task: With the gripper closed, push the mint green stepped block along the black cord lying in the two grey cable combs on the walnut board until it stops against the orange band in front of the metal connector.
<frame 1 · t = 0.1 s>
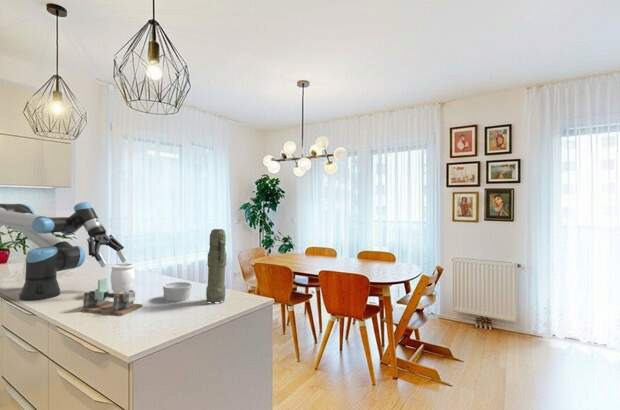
hand: (114, 263, 164), 15 cm above the table, tool tilted 35°, fingers open, 13 cm apart
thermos: (215, 301, 156), on the table
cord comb: (112, 309, 140), on the table
ramekin: (177, 299, 159), on the table
jar: (122, 295, 163), on the table
mint green stepped block: (102, 288, 141), point 8 cm above the table, slide at 0.0 cm
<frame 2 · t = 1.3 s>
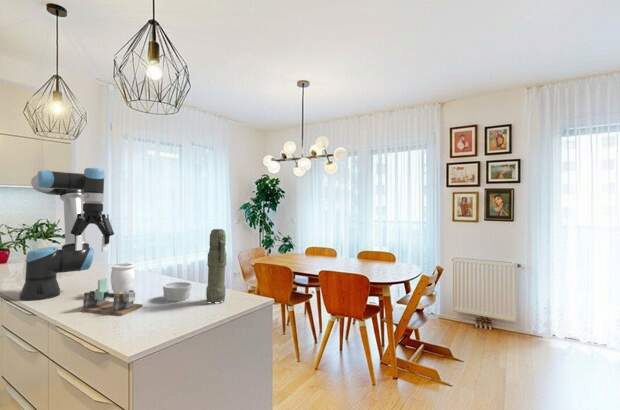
hand: (91, 250, 143), 25 cm above the table, tool pointing down, fingers open, 12 cm apart
nothing on the table moved.
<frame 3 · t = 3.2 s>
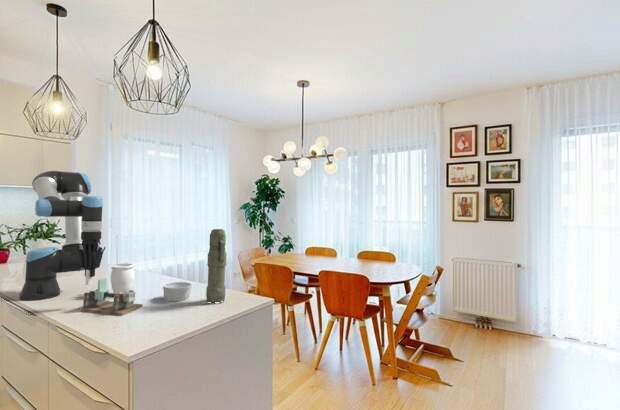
hand: (89, 284, 142), 10 cm above the table, tool pointing down, fingers closed
nothing on the table moved.
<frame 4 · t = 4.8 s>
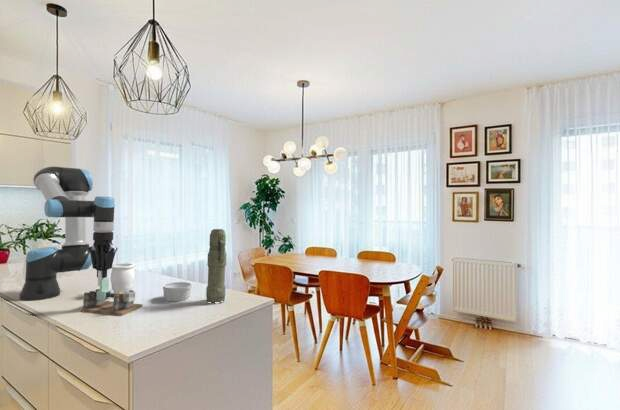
hand: (101, 285, 141), 10 cm above the table, tool pointing down, fingers closed
mint green stepped block: (104, 288, 141), point 8 cm above the table, slide at 1.0 cm, touching gripper
everything else where it was.
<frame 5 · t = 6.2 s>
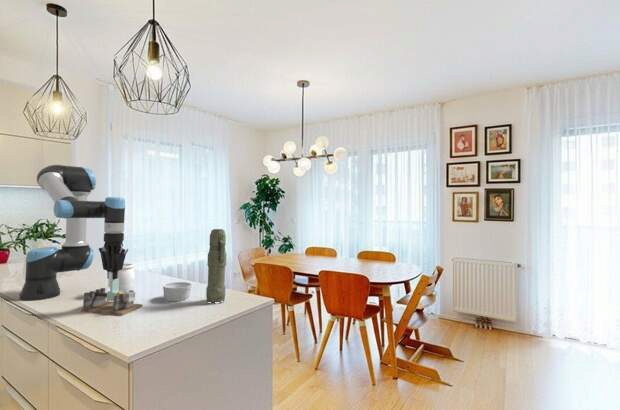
hand: (112, 286, 140), 10 cm above the table, tool pointing down, fingers closed
mint green stepped block: (114, 289, 140), point 8 cm above the table, slide at 6.2 cm, touching gripper
everything else where it was.
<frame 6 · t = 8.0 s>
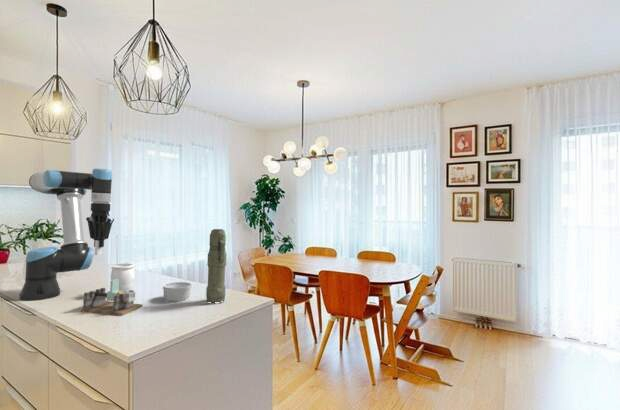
hand: (98, 254, 146), 23 cm above the table, tool pointing down, fingers closed
mint green stepped block: (114, 289, 140), point 8 cm above the table, slide at 6.2 cm
everything else where it was.
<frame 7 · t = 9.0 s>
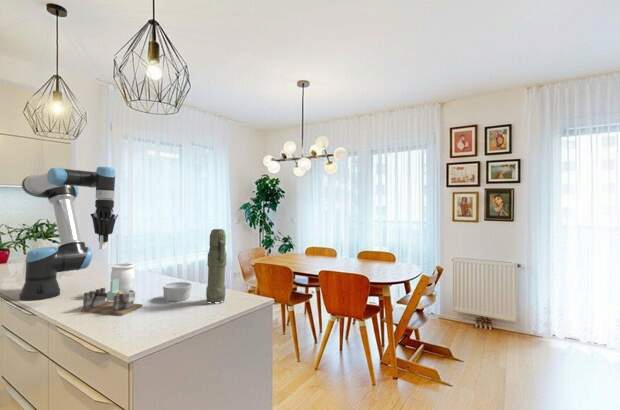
hand: (103, 248, 153), 24 cm above the table, tool pointing down, fingers closed
nothing on the table moved.
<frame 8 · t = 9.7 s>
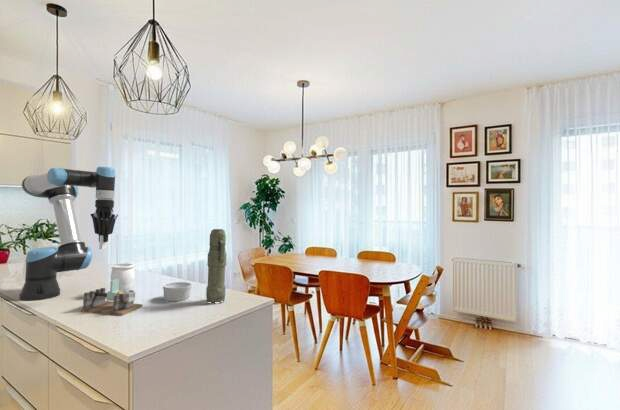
hand: (103, 248, 153), 24 cm above the table, tool pointing down, fingers closed
nothing on the table moved.
at the end: mint green stepped block slide at 6.2 cm; jar moved 0.2 cm from its start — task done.
